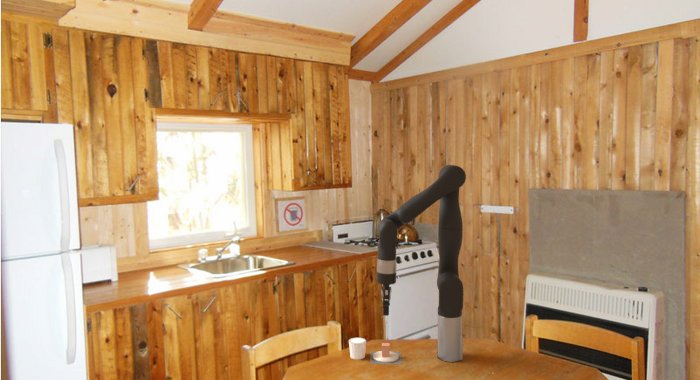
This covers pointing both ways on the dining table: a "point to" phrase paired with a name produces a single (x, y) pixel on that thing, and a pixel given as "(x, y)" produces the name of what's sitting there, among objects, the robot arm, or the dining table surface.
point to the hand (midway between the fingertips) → (385, 311)
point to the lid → (385, 354)
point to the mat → (384, 363)
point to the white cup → (357, 348)
